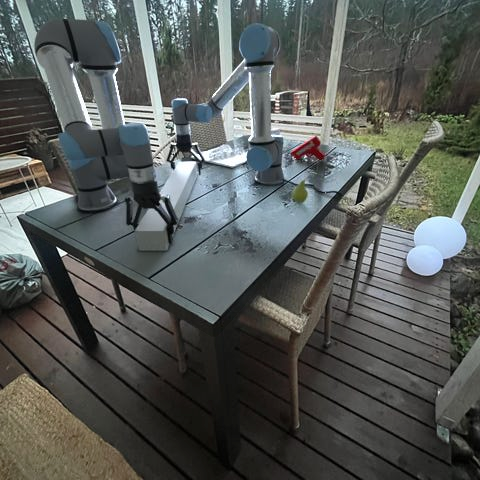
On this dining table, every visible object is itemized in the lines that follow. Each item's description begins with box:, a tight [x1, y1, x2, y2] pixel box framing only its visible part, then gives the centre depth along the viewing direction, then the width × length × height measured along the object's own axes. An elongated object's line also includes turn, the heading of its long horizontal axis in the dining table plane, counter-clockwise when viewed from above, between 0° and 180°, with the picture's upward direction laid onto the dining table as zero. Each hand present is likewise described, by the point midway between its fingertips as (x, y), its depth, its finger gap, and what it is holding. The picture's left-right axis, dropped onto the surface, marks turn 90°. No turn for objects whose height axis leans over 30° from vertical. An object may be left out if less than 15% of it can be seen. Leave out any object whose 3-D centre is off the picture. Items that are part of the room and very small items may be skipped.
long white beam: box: [134, 161, 198, 252], centre depth 119 cm, size 74×9×8 cm, turn 0°
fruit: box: [291, 174, 311, 204], centre depth 118 cm, size 7×8×12 cm
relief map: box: [190, 143, 247, 169], centre depth 179 cm, size 27×35×5 cm
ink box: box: [271, 127, 281, 136], centre depth 204 cm, size 8×5×12 cm, turn 134°
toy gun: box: [290, 135, 326, 163], centre depth 173 cm, size 18×4×15 cm
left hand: (156, 241), depth 94 cm, fingers closed on long white beam, 9 cm apart
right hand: (187, 174), depth 148 cm, fingers open, 13 cm apart
